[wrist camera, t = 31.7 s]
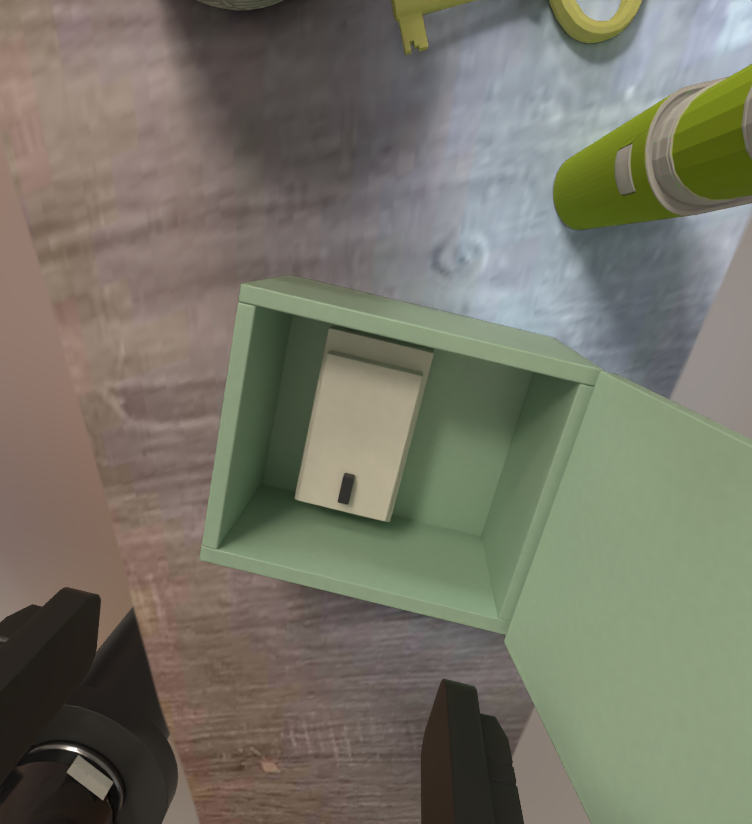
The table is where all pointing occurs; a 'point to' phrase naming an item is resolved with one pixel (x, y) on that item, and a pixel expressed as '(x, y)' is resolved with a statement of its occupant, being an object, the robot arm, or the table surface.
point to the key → (414, 3)
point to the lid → (646, 614)
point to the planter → (240, 4)
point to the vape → (665, 160)
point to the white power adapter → (362, 422)
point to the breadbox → (425, 465)
